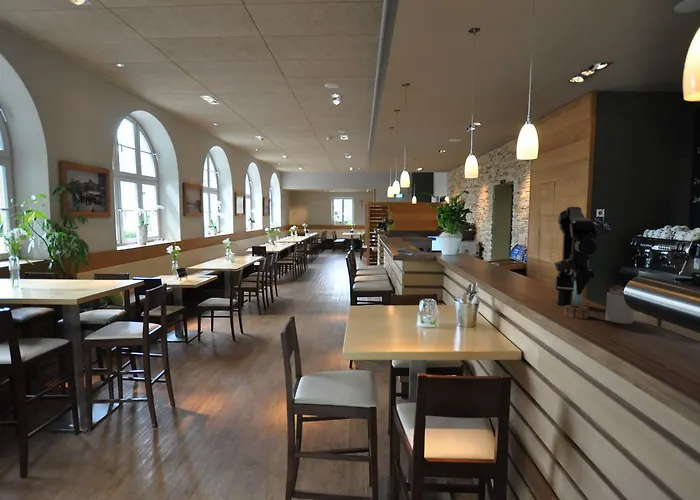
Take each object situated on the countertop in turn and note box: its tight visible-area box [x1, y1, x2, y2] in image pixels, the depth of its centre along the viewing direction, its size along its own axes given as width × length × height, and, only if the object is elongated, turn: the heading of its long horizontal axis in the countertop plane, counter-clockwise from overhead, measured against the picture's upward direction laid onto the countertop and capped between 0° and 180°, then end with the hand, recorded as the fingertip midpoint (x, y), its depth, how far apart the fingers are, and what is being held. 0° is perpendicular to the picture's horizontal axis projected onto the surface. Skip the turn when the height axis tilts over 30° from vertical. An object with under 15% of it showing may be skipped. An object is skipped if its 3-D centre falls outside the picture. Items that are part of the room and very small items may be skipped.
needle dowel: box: [572, 280, 583, 306], centre depth 155 cm, size 3×3×10 cm
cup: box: [604, 291, 635, 324], centre depth 150 cm, size 8×8×10 cm
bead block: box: [564, 304, 590, 319], centre depth 156 cm, size 8×8×4 cm
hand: (577, 293), depth 155 cm, fingers closed on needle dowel, 3 cm apart
